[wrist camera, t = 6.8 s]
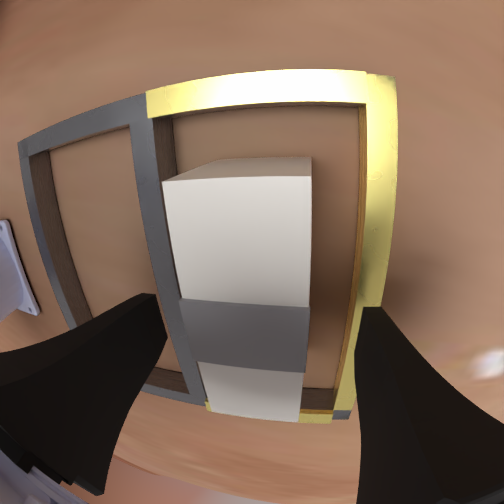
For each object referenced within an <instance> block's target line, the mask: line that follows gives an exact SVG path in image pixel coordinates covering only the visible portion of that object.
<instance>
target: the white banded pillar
mask: <svg viewBox="0 0 504 504" xmlns="http://www.w3.org/2000/svg"><path fill="white" fill-rule="evenodd" d="M162 186H163V193H164V200H165V207H166V214H167V220H168V226H169V232H170V238H171V244H172V250H173V255H174V260H175V266H176V271H177V276H178V281H179V286H180V290H181V295H182V297H181V298H180V300H179V305H180V310H181V314H182V318H183V322H184V326H185V330H186V334H187V338H188V342H189V346H190V349H191V353H192V357H193V360H194V361H197V362H198V365H199V369H200V373H201V376H202V380H203V383H204V387H205V390H206V394H207V397H208V401H209V404H210V407H211V410H212V412H217V413H223V414H229V415H235V416H242V417H249V418H257V419H265V420H275V421H286V422H298V420H299V412H300V404H301V395H302V386H303V376H304V373H305V370H306V359H307V347H308V335H309V321H310V306H309V296H310V274H311V240H312V161H311V157H259V158H236V159H219V160H215V161H212V162H210V163H207V164H205V165H202V166H199V167H197V168H194V169H192V170H189V171H187V172H184V173H182V174H179V175H177V176H175V177H172V178H170V179H167V180H165V181H163V182H162Z"/></svg>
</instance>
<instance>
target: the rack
mask: <svg viewBox="0 0 504 504" xmlns="http://www.w3.org/2000/svg"><path fill="white" fill-rule="evenodd" d="M281 106H341V107H359V138H360V172H359V203H358V222H357V236H356V248H355V259H354V269H353V278H352V286H351V294H350V301H349V308H348V315H347V322H346V328H345V334H344V340H343V345H342V351H341V356H340V361H339V366H338V371H337V376H336V381H335V385H334V389H308V388H302V395H301V404H300V412H299V420H298V422H299V423H322V424H331V420H332V419H349V416H350V413H351V410H352V407H353V405H354V402H355V399H356V396H357V395H356V387H355V379H354V350H355V345H356V341H357V336H358V331H359V326H360V321H361V315H362V310H363V307H380V306H381V301H382V296H383V291H384V285H385V280H386V274H387V268H388V261H389V254H390V247H391V239H392V231H393V222H394V211H395V199H396V184H397V159H398V121H397V97H396V83H395V77H393V76H385V75H375V74H366V72H364V71H349V70H320V69H306V70H276V71H262V72H250V73H241V74H232V75H225V76H218V77H211V78H205V79H199V80H194V81H188V82H183V83H178V84H174V85H169V86H165V87H161V88H156V89H152V90H149V91H146V93H144V94H140V95H136V96H133V97H129V98H126V99H123V100H119V101H116V102H113V103H110V104H107V105H104V106H101V107H98V108H95V109H92V110H90V111H87V112H84V113H82V114H79V115H77V116H74V117H71V118H69V119H67V120H64V121H62V122H59V123H57V124H55V125H53V126H50V127H48V128H46V129H44V130H42V131H40V132H37V133H35V134H33V135H31V136H29V137H27V138H25V139H23V140H22V141H20V142H18V151H19V159H20V166H21V173H22V179H23V185H24V190H25V195H26V200H27V205H28V209H29V214H30V218H31V222H32V226H33V230H34V233H35V237H36V240H37V244H38V247H39V251H40V254H41V257H42V260H43V263H44V266H45V269H46V272H47V275H48V278H49V280H50V283H51V286H52V288H53V291H54V294H55V296H56V299H57V301H58V303H59V306H60V308H61V311H62V313H63V315H64V317H65V320H66V322H67V324H68V326H69V328H70V330H72V329H74V328H76V327H78V326H80V325H82V324H83V323H85V322H87V321H89V320H91V319H93V318H92V316H91V313H90V311H89V308H88V305H87V303H86V300H85V298H84V295H83V292H82V289H81V286H80V284H79V281H78V278H77V275H76V272H75V269H74V266H73V262H72V259H71V256H70V252H69V249H68V245H67V242H66V238H65V234H64V231H63V227H62V223H61V218H60V214H59V210H58V205H57V200H56V195H55V190H54V185H53V179H52V173H51V166H50V159H49V151H50V150H53V149H56V148H59V147H62V146H65V145H68V144H71V143H74V142H77V141H80V140H83V139H86V138H90V137H93V136H97V135H100V134H104V133H107V132H111V131H115V130H119V129H123V128H127V127H130V135H131V144H132V153H133V161H134V169H135V176H136V183H137V189H138V196H139V202H140V208H141V213H142V219H143V224H144V230H145V235H146V240H147V244H148V249H149V254H150V258H151V263H152V267H153V272H154V276H155V280H156V284H157V288H158V292H159V296H160V300H161V304H162V307H163V311H164V315H165V318H166V322H167V325H168V329H169V332H170V336H171V339H172V342H173V345H174V349H175V352H176V355H177V358H178V361H179V364H180V367H181V370H182V373H178V372H173V371H169V370H164V369H159V368H155V367H154V368H153V370H152V372H151V373H150V375H149V377H148V378H147V380H146V382H145V383H144V385H143V387H142V389H141V390H140V391H143V392H147V393H150V394H154V395H158V396H161V397H165V398H169V399H173V400H178V401H182V402H186V403H191V404H196V405H201V406H206V407H207V410H208V411H210V412H212V410H211V407H210V404H209V401H208V397H207V394H206V390H205V387H204V383H203V380H202V376H201V373H200V369H199V365H198V362H197V361H194V360H193V357H192V353H191V349H190V346H189V342H188V338H187V334H186V330H185V326H184V322H183V318H182V314H181V310H180V305H179V300H180V298H181V297H182V295H181V290H180V286H179V281H178V276H177V271H176V266H175V260H174V255H173V250H172V244H171V238H170V232H169V226H168V220H167V214H166V207H165V200H164V193H163V186H162V182H163V181H165V180H167V179H170V178H172V177H175V176H177V168H176V159H175V150H174V140H173V129H172V118H176V117H182V116H188V115H194V114H201V113H209V112H217V111H226V110H236V109H247V108H261V107H281ZM216 413H217V412H216ZM221 414H223V413H221ZM227 415H229V414H227ZM234 416H235V415H234ZM240 417H242V416H240ZM247 418H249V417H247ZM255 419H257V418H255ZM264 420H265V419H264ZM273 421H275V420H273ZM285 422H286V421H285Z"/></svg>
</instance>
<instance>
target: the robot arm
mask: <svg viewBox="0 0 504 504" xmlns="http://www.w3.org/2000/svg"><path fill="white" fill-rule="evenodd" d="M15 309H19V310H21V311H24V312H27V313H30V314H32V315H35V316H38V315H39V314H40V310H39V308H38V305H37V303H36V301H35V298H34V296H33V293H32V291H31V288H30V286H29V283H28V281H27V278H26V275H25V273H24V270H23V267H22V264H21V261H20V258H19V255H18V252H17V249H16V246H15V242H14V239H13V235H12V232H11V228H10V225H9V222H8V221H7V220H0V322H1V321H3V320H4V319H5V318H6V317H7V316H8V315H10V314H11V313H12V312H13V311H14V310H15ZM167 338H168V337H167V333H166V330H165V327H164V323H163V320H162V316H161V313H160V309H159V306H158V302H157V298H156V295H155V294H146V293H141V294H139V295H136V296H134V297H132V298H130V299H128V300H126V301H124V302H122V303H121V304H119V305H117V306H115V307H113V308H111V309H110V310H108V311H106V312H104V313H102V314H101V315H99V316H97V317H95V318H93V319H91V320H89V321H87V322H85V323H83V324H82V325H80V326H78V327H76V328H74V329H72V330H70V331H68V332H65V333H63V334H61V335H59V336H56V337H54V338H51V339H49V340H46V341H43V342H40V343H37V344H34V345H31V346H28V347H24V348H21V349H17V350H12V351H8V352H2V353H0V504H88V503H87V502H85V501H83V500H81V499H80V498H79V497H77V496H75V495H74V494H72V493H71V492H69V491H68V490H66V489H65V488H63V487H62V486H60V485H59V484H60V483H61V481H64V482H66V483H67V484H69V485H72V483H75V484H77V485H78V486H80V487H82V488H83V489H85V490H87V491H88V492H90V493H92V494H94V495H95V496H98V495H102V494H104V490H105V484H106V479H107V474H108V469H109V466H110V462H111V458H112V455H113V452H114V448H115V445H116V442H117V440H118V437H119V434H120V431H121V429H122V426H123V424H124V421H125V419H126V417H127V414H128V412H129V410H130V408H131V406H132V404H133V402H134V400H135V399H136V397H137V395H138V394H139V392H140V390H141V389H142V387H143V385H144V383H145V382H146V380H147V378H148V377H149V375H150V373H151V372H152V370H153V368H154V367H155V365H156V363H157V361H158V360H159V357H160V355H161V353H162V350H163V348H164V345H165V343H166V340H167ZM354 379H355V387H356V395H357V403H358V411H359V420H360V430H361V462H360V476H359V486H358V495H357V502H356V504H504V424H503V423H501V422H500V421H498V420H497V419H495V418H493V417H492V416H490V415H489V414H487V413H486V412H484V411H483V410H482V409H480V408H479V407H478V406H476V405H475V404H474V403H472V402H471V401H470V400H468V399H467V398H466V397H465V396H463V395H462V394H461V393H460V392H459V391H457V390H456V389H455V388H454V387H453V386H452V385H451V384H450V383H448V382H447V381H446V380H445V379H444V378H443V377H442V376H441V375H440V374H439V373H438V372H437V371H436V370H435V369H434V368H433V367H432V366H431V365H430V364H429V363H428V362H427V361H426V360H425V359H424V358H423V356H422V355H421V354H420V353H419V352H418V351H417V350H416V349H415V347H414V346H413V345H412V344H411V343H410V342H409V340H408V339H407V338H406V337H405V336H404V334H403V333H402V332H401V331H400V329H399V328H398V327H397V326H396V324H395V323H394V322H393V321H392V319H391V318H390V317H389V316H388V315H387V313H386V312H385V311H384V310H383V308H382V307H363V310H362V315H361V321H360V326H359V331H358V336H357V341H356V345H355V350H354Z"/></svg>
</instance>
